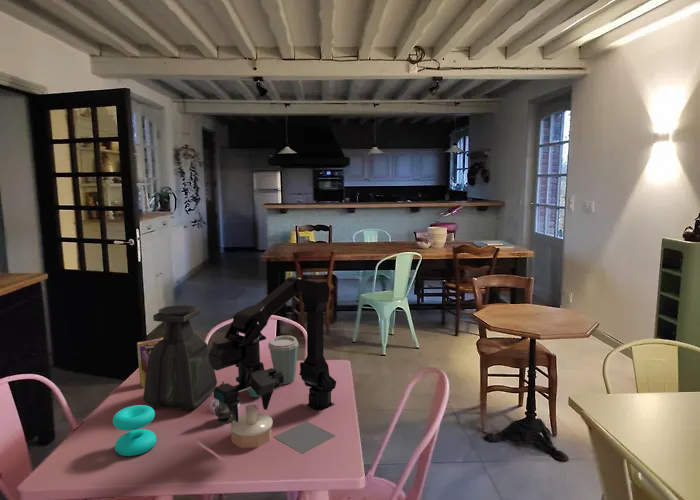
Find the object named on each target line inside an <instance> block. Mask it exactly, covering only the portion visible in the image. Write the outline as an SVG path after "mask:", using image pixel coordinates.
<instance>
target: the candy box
mask: <svg viewBox="0 0 700 500" xmlns="http://www.w3.org/2000/svg"><path fill="white" fill-rule="evenodd" d="M161 340H163V337H159V338H155V339H154V338H153V339H148V340H145V341H138V342H136V347H137V348H136V349H137V359H138V361H137V362H138V373H139V384H140V386H141V387H142V388H143V389H144V388H145V380H146V373H147V365H148V357H149V355H150V352H151V350H152V349H153V347H154V346H155V345H156V344H157V343H158V342H159V341H161Z"/></svg>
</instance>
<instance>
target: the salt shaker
mask: <svg viewBox="0 0 700 500" xmlns="http://www.w3.org/2000/svg"><path fill="white" fill-rule="evenodd" d="M223 384H226V383H225V381H224V380H223V381H222V382H221V384H219V385H218V386H220V385H223ZM213 412H215V413H214V414H215V416H216V417H217V418H216V420H215V423H216V424H217V425H222V426H225V425H228V424H231V423H232V421H233V420H234V419H233V417H232V415H231V413H230V411H229V409H228V407H227V406H226V404H224V403H223V402H221V401H219V400H218V405H217V406H216V407H214V409H213Z"/></svg>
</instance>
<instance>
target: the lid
mask: <svg viewBox="0 0 700 500" xmlns="http://www.w3.org/2000/svg"><path fill="white" fill-rule="evenodd" d="M273 424H274V422H273V418H272V416H270V415H268V414H265V413H260V412H258V411H257V405H256V404H247V405H246V406H245V414H242V415H240V416H238V422H236V421H235V420H233V421H232V422H231V423H230V431H232V432H233V433H235V434H237V435H240V436H255V435H259V434H262V433H264V432H266V431H268V430H269V429H270V428H271V429H272V427H273Z"/></svg>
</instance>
